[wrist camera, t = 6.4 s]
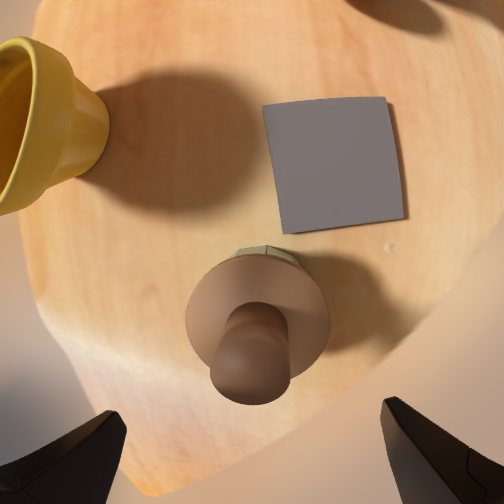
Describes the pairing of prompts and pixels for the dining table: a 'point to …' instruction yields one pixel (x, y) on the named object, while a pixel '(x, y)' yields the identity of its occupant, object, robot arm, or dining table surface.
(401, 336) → the dining table surface
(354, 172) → the mat
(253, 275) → the lid
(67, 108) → the plant pot
